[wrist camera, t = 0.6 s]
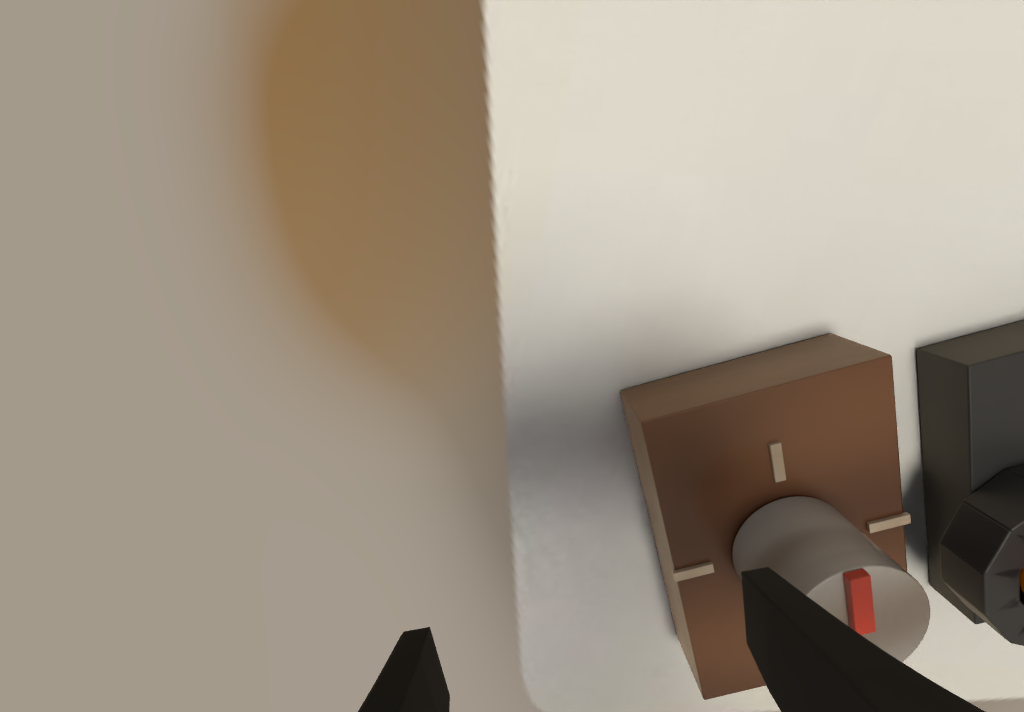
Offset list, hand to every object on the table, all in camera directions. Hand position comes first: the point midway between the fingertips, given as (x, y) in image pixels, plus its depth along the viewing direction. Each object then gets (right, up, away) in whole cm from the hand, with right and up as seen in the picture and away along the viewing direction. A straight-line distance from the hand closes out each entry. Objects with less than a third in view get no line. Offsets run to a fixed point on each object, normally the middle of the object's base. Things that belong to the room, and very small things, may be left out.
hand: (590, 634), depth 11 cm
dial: (+8, 0, +6) cm, 10 cm away
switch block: (+19, +3, +9) cm, 21 cm away
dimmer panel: (+8, +1, +9) cm, 12 cm away
